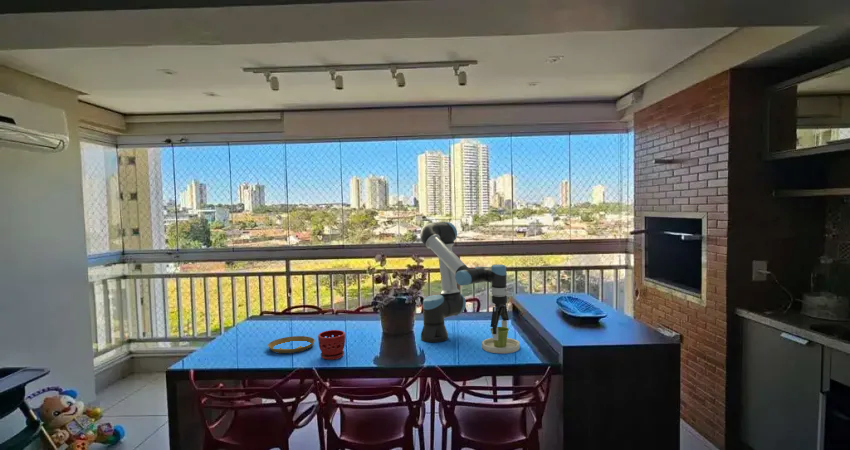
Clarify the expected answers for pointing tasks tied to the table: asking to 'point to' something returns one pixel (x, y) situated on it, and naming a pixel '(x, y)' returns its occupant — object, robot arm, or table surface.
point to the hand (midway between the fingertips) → (500, 336)
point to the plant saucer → (288, 339)
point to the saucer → (510, 347)
